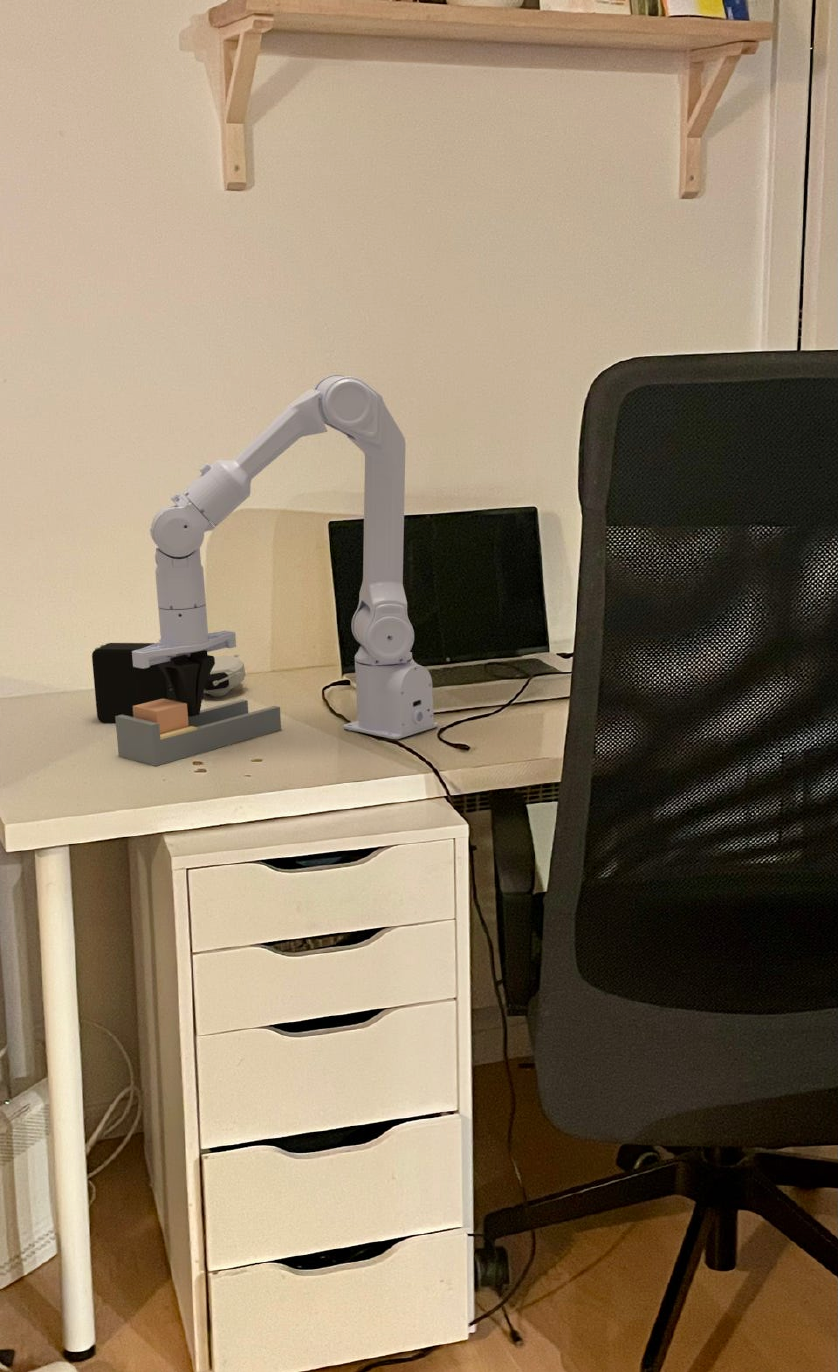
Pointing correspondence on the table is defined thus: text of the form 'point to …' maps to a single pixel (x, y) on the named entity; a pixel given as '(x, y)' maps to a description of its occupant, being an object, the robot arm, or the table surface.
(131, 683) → the electronic device
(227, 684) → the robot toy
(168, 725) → the block
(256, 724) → the trough
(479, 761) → the table surface
